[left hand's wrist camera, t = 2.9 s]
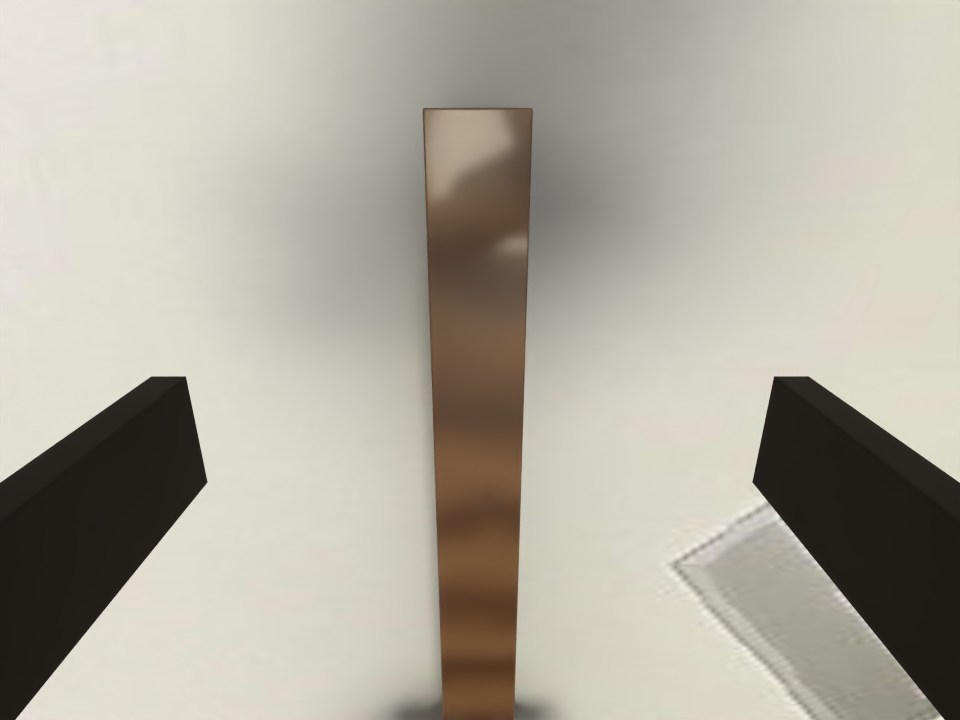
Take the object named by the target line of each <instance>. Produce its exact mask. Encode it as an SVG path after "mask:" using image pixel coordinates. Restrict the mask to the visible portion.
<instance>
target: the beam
mask: <svg viewBox="0 0 960 720" xmlns="http://www.w3.org/2000/svg"><path fill="white" fill-rule="evenodd" d="M532 115H533V110H532V108H424V109H423V132H424V161H425V191H426V221H427V251H428V280H429V310H430V340H431V370H432V399H433V429H434V459H435V488H436V518H437V548H438V578H439V607H440V637H441V667H442V697H443V720H514V697H515V664H516V632H517V600H518V567H519V535H520V503H521V470H522V438H523V406H524V373H525V341H526V309H527V276H528V244H529V212H530V179H531V147H532Z"/></svg>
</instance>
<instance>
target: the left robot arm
mask: <svg viewBox="0 0 960 720" xmlns="http://www.w3.org/2000/svg"><path fill="white" fill-rule="evenodd" d="M206 483H207V478H206V473H205V468H204V463H203V458H202V453H201V448H200V444H199V439H198V434H197V429H196V424H195V419H194V414H193V409H192V405H191V400H190V395H189V390H188V385H187V380H186V377H150V378H149V379H147V380H146V381H144V382H143V383H142V384H140V385H139V386H137V387H136V388H135V389H133V390H132V391H130V392H129V393H127V394H126V395H125V396H123V397H122V398H120V399H119V400H117V401H116V402H115V403H113V404H112V405H110V406H109V407H107V408H106V409H105V410H103V411H102V412H100V413H99V414H98V415H96V416H95V417H93V418H92V419H90V420H89V421H88V422H86V423H85V424H83V425H82V426H80V427H79V428H78V429H76V430H75V431H73V432H72V433H71V434H69V435H68V436H66V437H65V438H63V439H62V440H61V441H59V442H58V443H56V444H55V445H53V446H52V447H51V448H49V449H48V450H46V451H45V452H43V453H42V454H41V455H39V456H38V457H36V458H35V459H34V460H32V461H31V462H29V463H28V464H26V465H25V466H24V467H22V468H21V469H19V470H18V471H16V472H15V473H14V474H12V475H11V476H9V477H8V478H6V479H5V480H4V481H2V482H1V483H0V720H15V719H16V718H17V717H18V716H19V714H20V713H21V712H22V711H23V709H24V708H25V707H26V706H27V705H28V703H29V702H30V701H31V700H32V698H33V697H34V696H35V695H36V693H37V692H38V691H39V690H40V688H41V687H42V686H43V685H44V684H45V682H46V681H47V680H48V679H49V677H50V676H51V675H52V674H53V672H54V671H55V670H56V669H57V667H58V666H59V665H60V664H61V663H62V661H63V660H64V659H65V658H66V656H67V655H68V654H69V653H70V651H71V650H72V649H73V648H74V646H75V645H76V644H77V643H78V642H79V640H80V639H81V638H82V637H83V635H84V634H85V633H86V632H87V630H88V629H89V628H90V627H91V625H92V624H93V623H94V622H95V621H96V619H97V618H98V617H99V616H100V614H101V613H102V612H103V611H104V609H105V608H106V607H107V606H108V604H109V603H110V602H111V601H112V600H113V598H114V597H115V596H116V595H117V593H118V592H119V591H120V590H121V588H122V587H123V586H124V585H125V583H126V582H127V581H128V580H129V579H130V577H131V576H132V575H133V574H134V572H135V571H136V570H137V569H138V567H139V566H140V565H141V564H142V562H143V561H144V560H145V559H146V558H147V556H148V555H149V554H150V553H151V551H152V550H153V549H154V548H155V546H156V545H157V544H158V543H159V541H160V540H161V539H162V538H163V537H164V535H165V534H166V533H167V532H168V530H169V529H170V528H171V527H172V525H173V524H174V523H175V522H176V520H177V519H178V518H179V517H180V516H181V514H182V513H183V512H184V511H185V509H186V508H187V507H188V506H189V504H190V503H191V502H192V501H193V499H194V498H195V497H196V496H197V495H198V493H199V492H200V491H201V490H202V488H203V487H204V486H205V485H206ZM753 483H754V485H755V486H756V487H757V488H758V490H759V491H760V492H761V493H762V495H763V496H764V497H765V498H766V499H767V501H768V502H769V503H770V504H771V506H772V507H773V508H774V509H775V511H776V512H777V513H778V514H779V516H780V517H781V518H782V519H783V520H784V522H785V523H786V524H787V525H788V527H789V528H790V529H791V530H792V532H793V533H794V534H795V535H796V537H797V538H798V539H799V540H800V541H801V543H802V544H803V545H804V546H805V548H806V549H807V550H808V551H809V553H810V554H811V555H812V556H813V558H814V559H815V560H816V561H817V562H818V564H819V565H820V566H821V567H822V569H823V570H824V571H825V572H826V574H827V575H828V576H829V577H830V579H831V580H832V581H833V582H834V583H835V585H836V586H837V587H838V588H839V590H840V591H841V592H842V593H843V595H844V596H845V597H846V598H847V600H848V601H849V602H850V603H851V604H852V606H853V607H854V608H855V609H856V611H857V612H858V613H859V614H860V616H861V617H862V618H863V619H864V621H865V622H866V623H867V624H868V625H869V627H870V628H871V629H872V630H873V632H874V633H875V634H876V635H877V637H878V638H879V639H880V640H881V642H882V643H883V644H884V645H885V646H886V648H887V649H888V650H889V651H890V653H891V654H892V655H893V656H894V658H895V659H896V660H897V661H898V663H899V664H900V665H901V666H902V667H903V669H904V670H905V671H906V672H907V674H908V675H909V676H910V677H911V679H912V680H913V681H914V682H915V684H916V685H917V686H918V687H919V688H920V690H921V691H922V692H923V693H924V695H925V696H926V697H927V698H928V700H929V701H930V702H931V703H932V705H933V706H934V707H935V708H936V709H937V711H938V712H939V713H940V714H941V716H942V717H943V718H944V719H945V720H960V483H959V482H958V481H956V480H955V479H954V478H952V477H951V476H949V475H948V474H946V473H945V472H944V471H942V470H941V469H939V468H938V467H936V466H935V465H934V464H932V463H931V462H929V461H928V460H926V459H925V458H924V457H922V456H921V455H919V454H918V453H917V452H915V451H914V450H912V449H911V448H909V447H908V446H907V445H905V444H904V443H902V442H901V441H899V440H898V439H897V438H895V437H894V436H892V435H891V434H889V433H888V432H887V431H885V430H884V429H882V428H881V427H880V426H878V425H877V424H875V423H874V422H872V421H871V420H870V419H868V418H867V417H865V416H864V415H862V414H861V413H860V412H858V411H857V410H855V409H854V408H853V407H851V406H850V405H848V404H847V403H845V402H844V401H843V400H841V399H840V398H838V397H837V396H835V395H834V394H833V393H831V392H830V391H828V390H827V389H825V388H824V387H823V386H821V385H820V384H818V383H817V382H816V381H814V380H813V379H811V378H810V377H774V380H773V385H772V390H771V395H770V400H769V405H768V409H767V414H766V419H765V424H764V429H763V434H762V439H761V444H760V448H759V453H758V458H757V463H756V468H755V473H754V478H753Z"/></svg>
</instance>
